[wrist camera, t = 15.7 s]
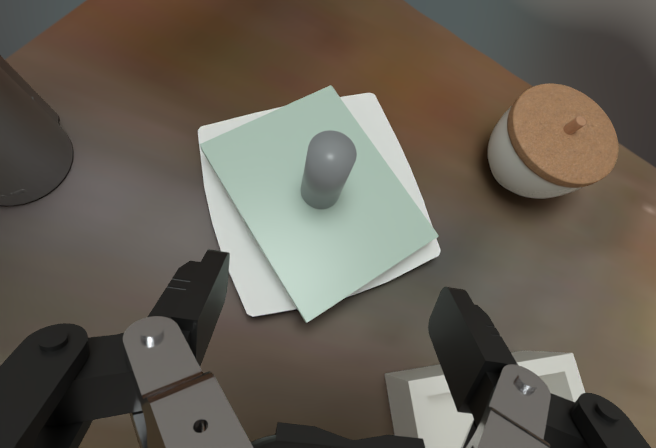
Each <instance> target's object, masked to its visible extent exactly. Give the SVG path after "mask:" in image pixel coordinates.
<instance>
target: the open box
mask: <svg viewBox="0 0 656 448" xmlns="http://www.w3.org/2000/svg"><path fill="white" fill-rule="evenodd" d="M511 354H512V356H513V357H514V359H515V360H516V362H517V364H518V365H519V366H522V367H525V368H527V369H529V370H530V371H532V372H534V373H535V374H536V375H538V376H539V377H540V378H541V379H542V380H543V381H544V382H545V384H546V385H547V387H548V388H549V390H550V393H552V394H555V395H557V396H560V397H562V398H565V399H567V400H570V401H573V402H576V400H577V399H578V398H579V396H580V395H581V394H583V393H585V391H584V387H583V384H582V381H581V378H580V374H579V371H578V368H577V365H576V361H575V358H574V355H573V353H563V352H543V351H518V352H512V353H511ZM385 380H386V386H387V392H388V398H389V404H390V411H391V417H392V423H393V429H394V435H395V436H404V437H413V438H422V439H423V440H424V444H425V448H461V446H462V444H463V441H464V439H465V436H466V434H467V432H468V429H469V427H470V425H471V423H472V421H473V419H474V418H473V415H472V414H469V413H461V412H457V409H456V406H455V404H454V401H453V398H452V395H451V393H450V390H449V387H448V384H447V382H446V379H445V376H444V373H443V371H442V368H441V365H440V364H439V365H433V366H427V367H421V368H415V369H409V370H403V371H397V372H391V373H385Z"/></svg>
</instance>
